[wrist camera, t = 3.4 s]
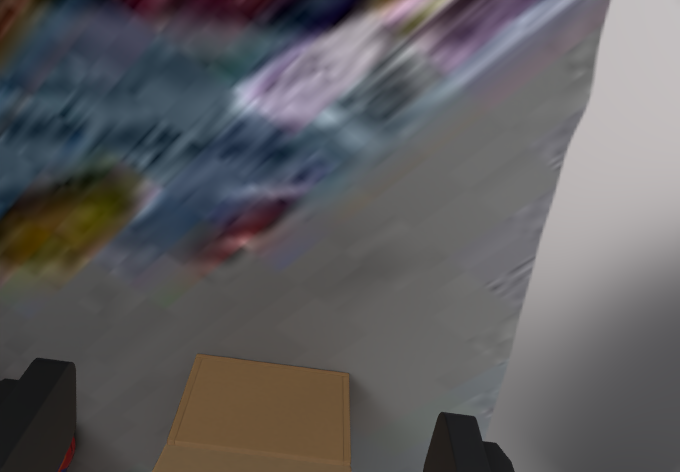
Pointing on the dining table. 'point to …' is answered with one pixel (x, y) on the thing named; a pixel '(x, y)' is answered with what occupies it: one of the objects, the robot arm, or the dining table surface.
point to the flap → (233, 462)
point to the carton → (265, 411)
